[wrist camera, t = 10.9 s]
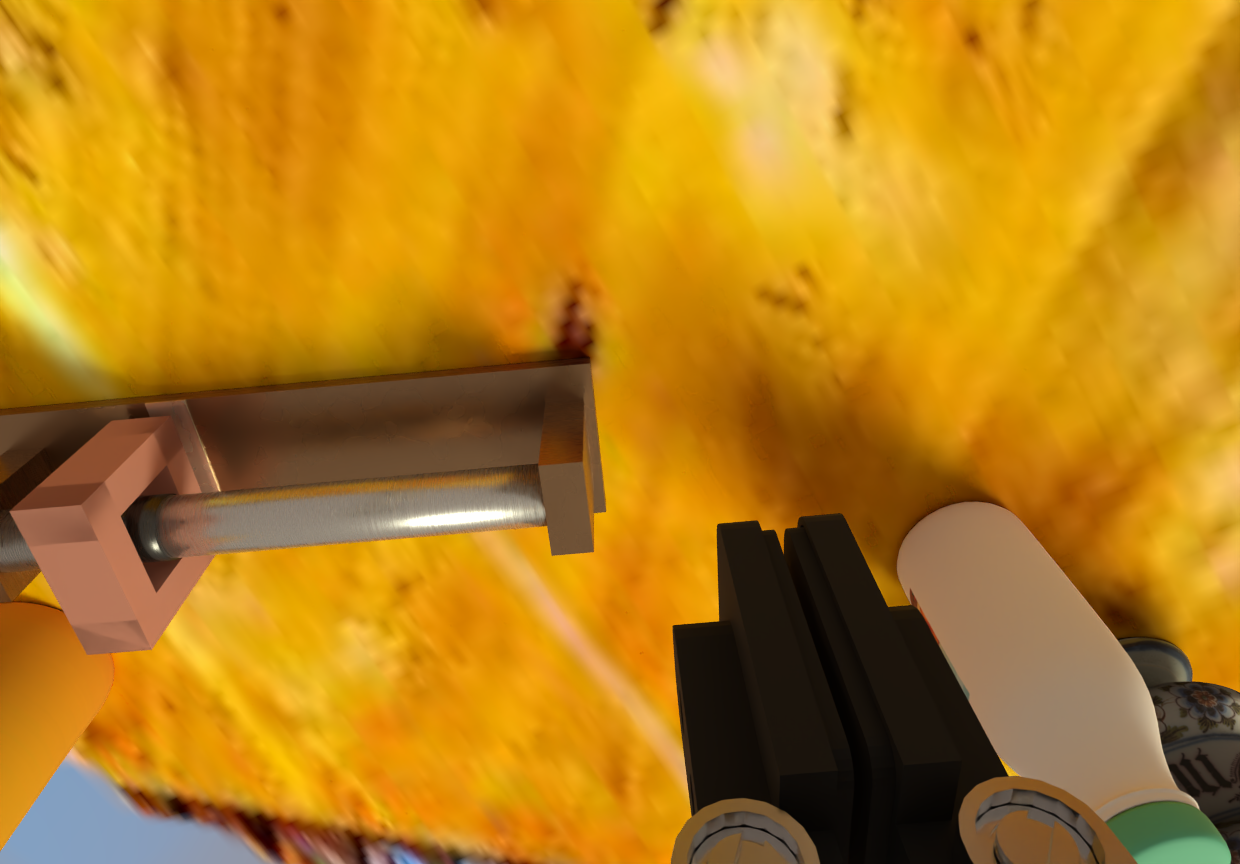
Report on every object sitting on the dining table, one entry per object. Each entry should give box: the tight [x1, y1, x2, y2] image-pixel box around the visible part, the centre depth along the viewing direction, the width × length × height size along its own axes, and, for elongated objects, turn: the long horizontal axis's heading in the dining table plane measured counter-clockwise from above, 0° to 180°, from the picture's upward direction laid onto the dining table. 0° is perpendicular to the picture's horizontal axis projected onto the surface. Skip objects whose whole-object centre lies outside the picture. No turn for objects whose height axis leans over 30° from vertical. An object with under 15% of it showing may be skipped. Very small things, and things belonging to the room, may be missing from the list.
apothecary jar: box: [1118, 637, 1240, 864], centre depth 46 cm, size 12×12×18 cm
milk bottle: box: [897, 501, 1231, 864], centre depth 39 cm, size 8×8×20 cm
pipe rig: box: [0, 357, 606, 603], centre depth 40 cm, size 9×31×7 cm, turn 94°
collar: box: [9, 416, 215, 655], centre depth 38 cm, size 8×3×8 cm, turn 4°
